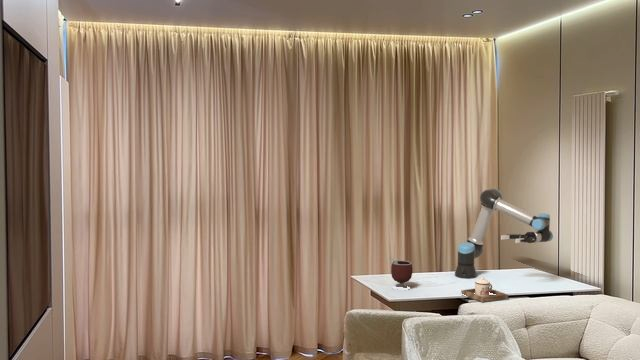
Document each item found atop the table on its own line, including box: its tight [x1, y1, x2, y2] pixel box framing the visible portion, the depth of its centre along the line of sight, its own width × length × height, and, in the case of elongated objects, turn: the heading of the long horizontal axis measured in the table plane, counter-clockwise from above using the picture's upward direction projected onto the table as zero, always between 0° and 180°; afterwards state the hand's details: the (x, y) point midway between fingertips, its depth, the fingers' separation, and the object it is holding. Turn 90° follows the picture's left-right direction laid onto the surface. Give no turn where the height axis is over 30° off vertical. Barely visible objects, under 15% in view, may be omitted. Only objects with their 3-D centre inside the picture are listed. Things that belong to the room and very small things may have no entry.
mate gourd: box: [390, 256, 413, 288], centre depth 396 cm, size 16×14×20 cm
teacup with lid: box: [474, 276, 493, 297], centre depth 376 cm, size 12×9×12 cm
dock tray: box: [460, 288, 509, 304], centre depth 376 cm, size 20×20×3 cm
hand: (508, 239), depth 401 cm, fingers open, 13 cm apart
